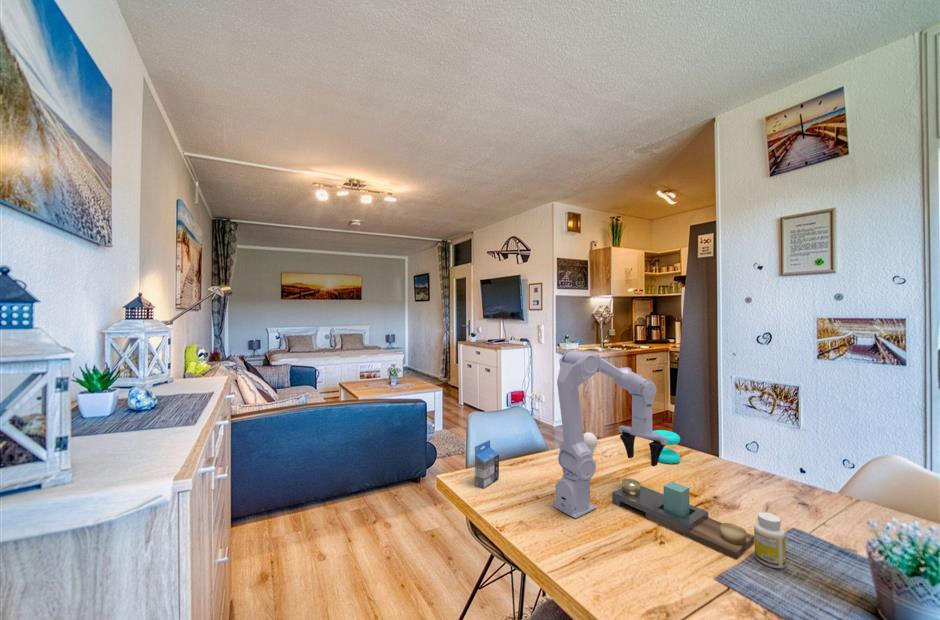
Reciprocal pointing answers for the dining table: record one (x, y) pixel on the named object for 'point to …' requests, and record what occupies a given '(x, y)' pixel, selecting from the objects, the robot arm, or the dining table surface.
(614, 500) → the metal link
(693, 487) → the dining table surface
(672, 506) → the block
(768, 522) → the supplement bottle
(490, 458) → the label tape cartridge
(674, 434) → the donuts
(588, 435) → the lightbulb
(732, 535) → the walnut link
